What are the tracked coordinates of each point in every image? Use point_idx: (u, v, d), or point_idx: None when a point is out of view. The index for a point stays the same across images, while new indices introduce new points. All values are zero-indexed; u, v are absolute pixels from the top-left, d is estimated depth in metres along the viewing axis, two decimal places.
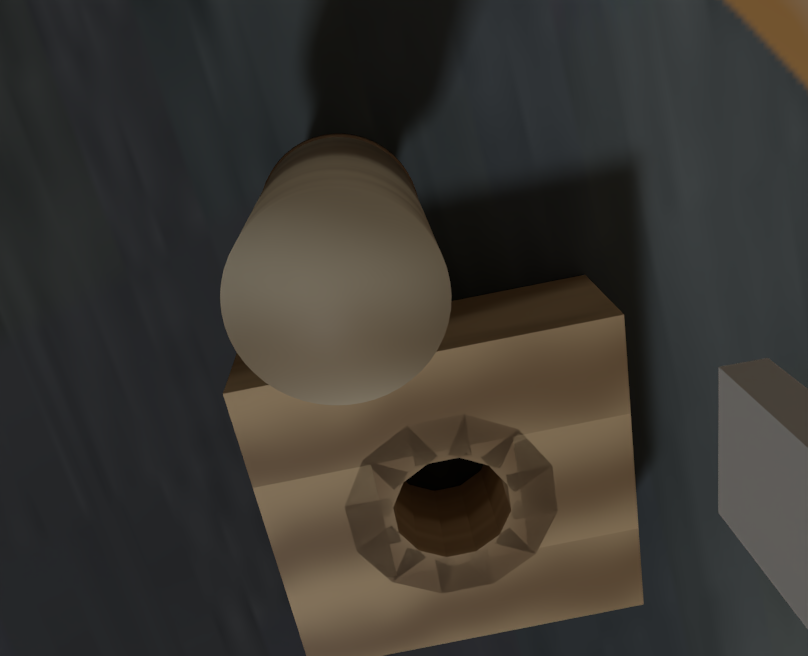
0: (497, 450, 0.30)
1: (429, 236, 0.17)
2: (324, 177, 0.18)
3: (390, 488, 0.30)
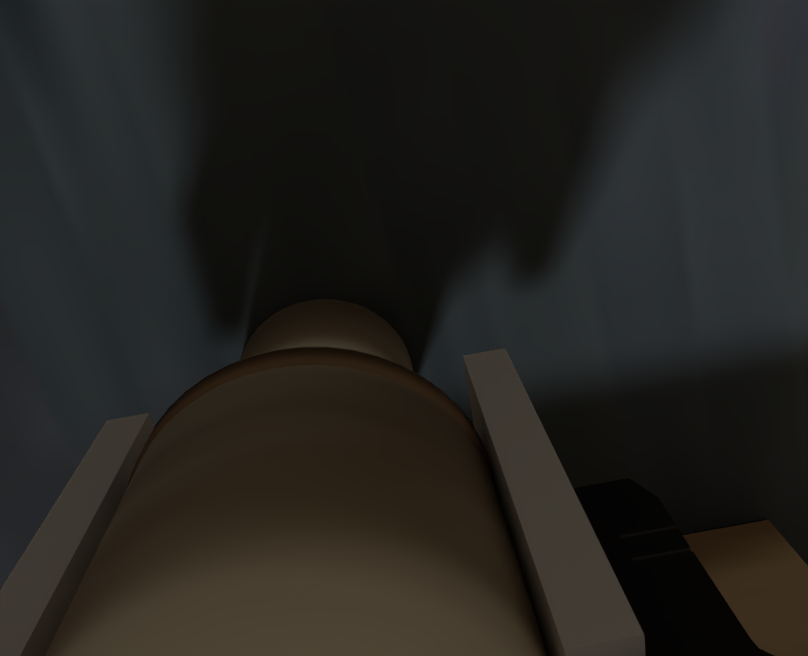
0: None
1: None
2: None
3: None
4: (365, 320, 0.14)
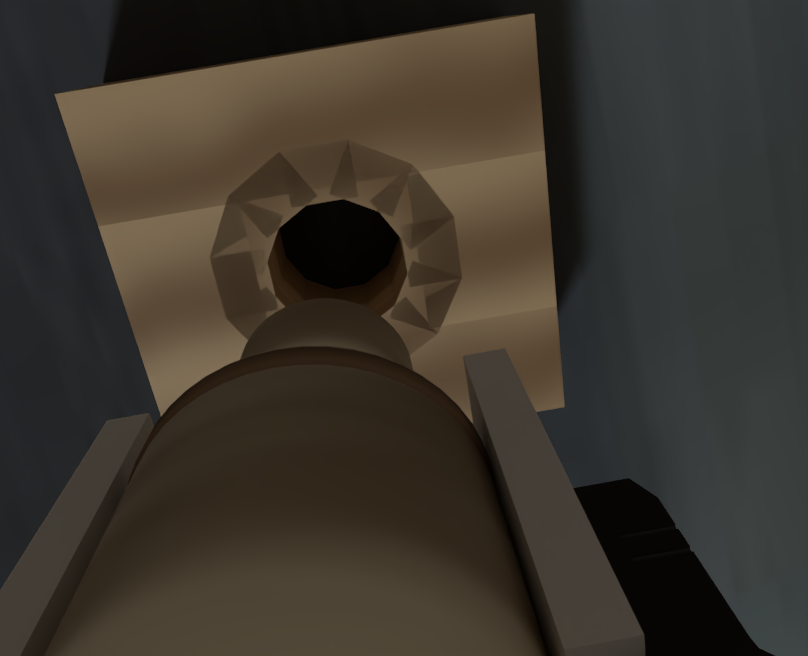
0: (388, 191, 0.26)
1: None
2: None
3: (263, 236, 0.26)
4: (365, 319, 0.14)
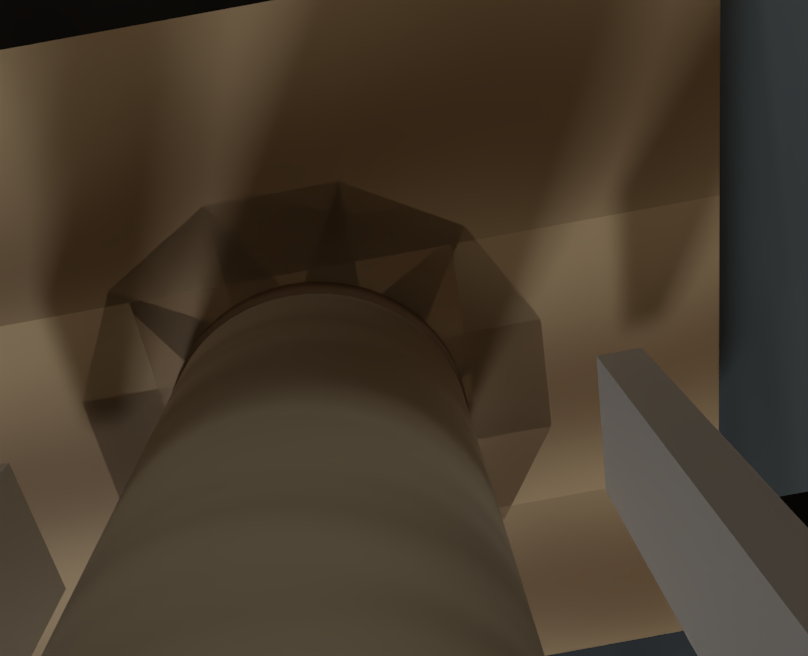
0: (417, 277, 0.13)
1: None
2: (247, 594, 0.06)
3: (181, 362, 0.14)
4: None
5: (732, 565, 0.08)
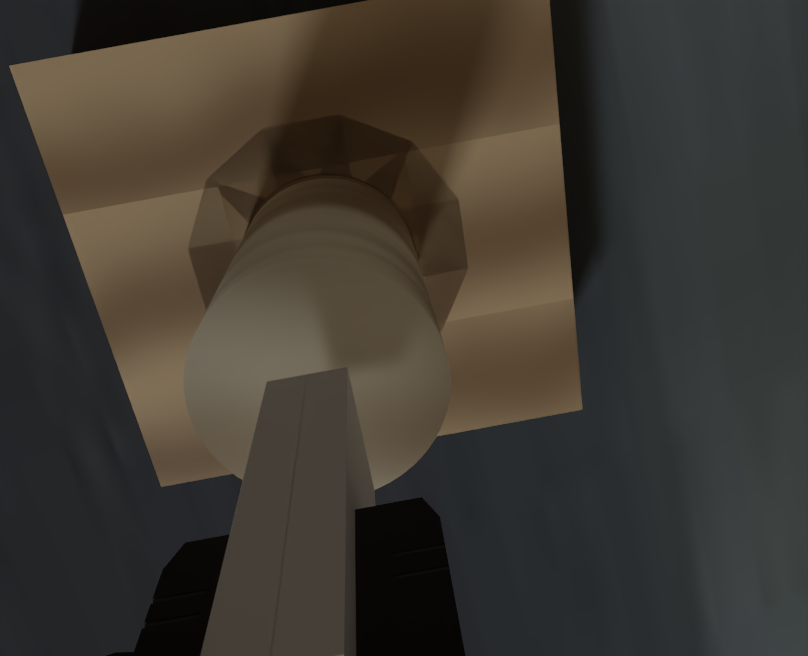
0: (385, 172, 0.23)
1: (426, 316, 0.15)
2: (306, 243, 0.15)
3: (246, 224, 0.23)
4: None
5: None
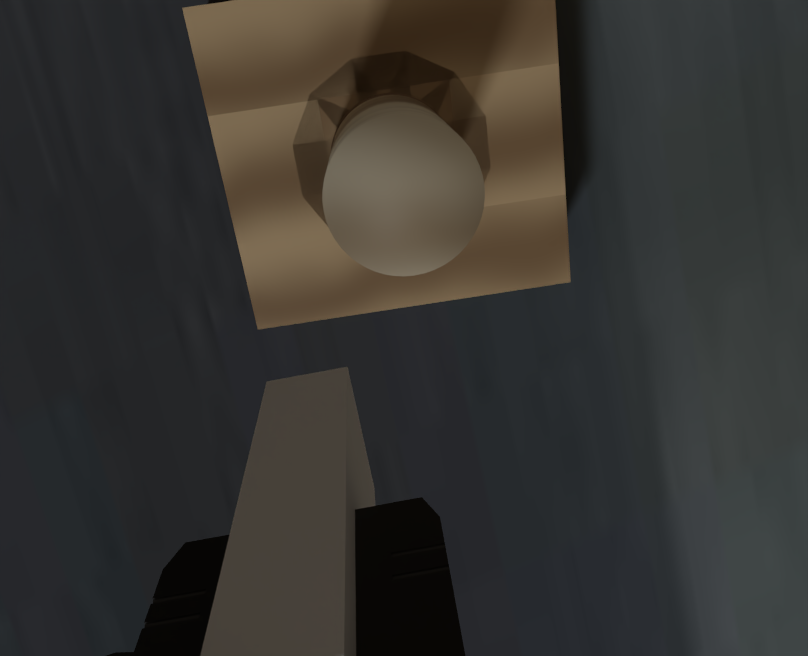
0: (435, 94, 0.33)
1: (471, 152, 0.24)
2: (397, 110, 0.25)
3: (335, 128, 0.33)
4: None
5: None
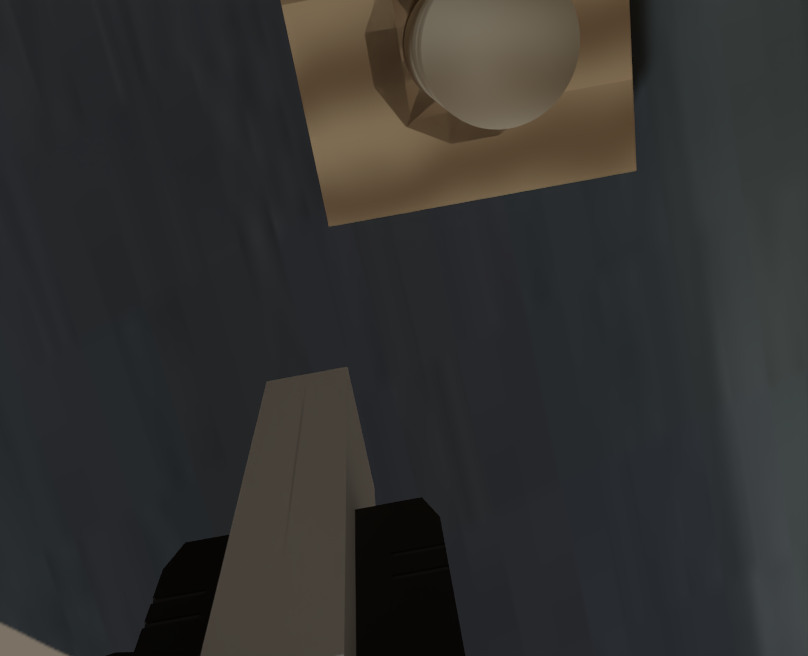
0: None
1: None
2: None
3: (406, 14, 0.33)
4: None
5: None
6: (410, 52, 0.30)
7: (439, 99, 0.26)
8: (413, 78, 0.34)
